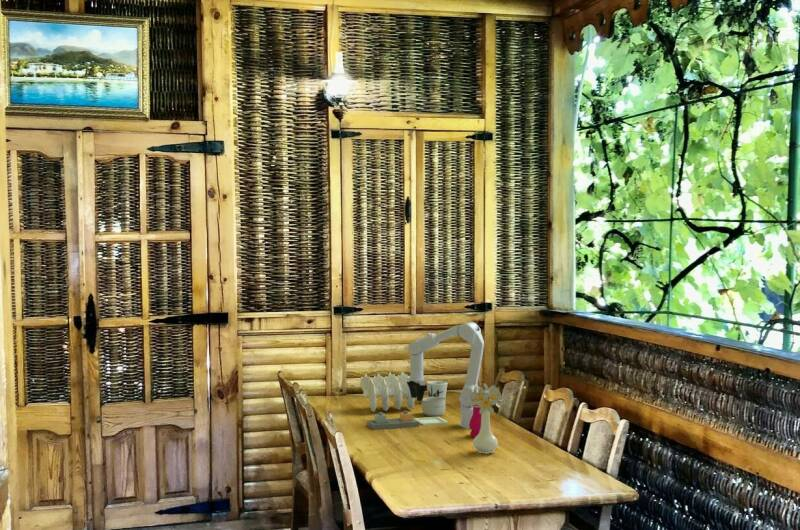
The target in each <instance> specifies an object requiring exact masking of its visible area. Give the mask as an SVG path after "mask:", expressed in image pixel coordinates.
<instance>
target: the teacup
mask: <svg viewBox="0 0 800 530" xmlns="http://www.w3.org/2000/svg"><path fill="white" fill-rule="evenodd" d="M421 406H422V408H421V409H422V412H423V414H424V415H426V416H427V417H440V416H441V417H442V415H443V414H444V413H446V397H445V398H444V397H428V396H427V397H423V400H422V401H421Z"/></svg>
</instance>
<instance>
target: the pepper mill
mask: <svg viewBox="0 0 800 530" xmlns="http://www.w3.org/2000/svg"><path fill="white" fill-rule="evenodd" d="M476 388H477V387H476ZM479 389H480V386H479V387H478V390H479ZM478 392H479V391H478ZM478 394H479V393H478ZM471 399H472V398H471ZM472 401H473V400H472ZM472 406H473V415H472V417H471V420H470V422H469V427H470V432H469V433H470V435H469V436H470V437H471V438H475V437H476V436H477V435H478V434H479V432H480V429H481V417H482V414H480V408H481V406H478V405H476V404H475V405H472Z"/></svg>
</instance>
